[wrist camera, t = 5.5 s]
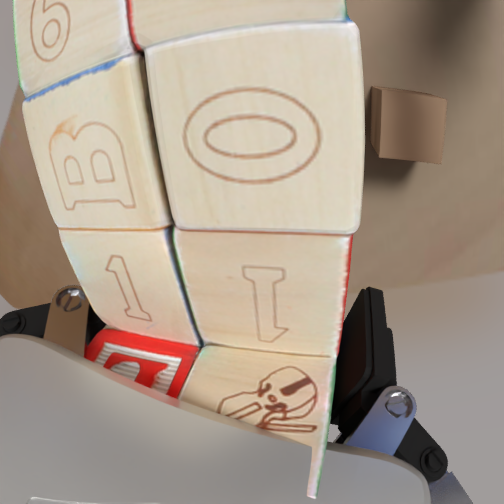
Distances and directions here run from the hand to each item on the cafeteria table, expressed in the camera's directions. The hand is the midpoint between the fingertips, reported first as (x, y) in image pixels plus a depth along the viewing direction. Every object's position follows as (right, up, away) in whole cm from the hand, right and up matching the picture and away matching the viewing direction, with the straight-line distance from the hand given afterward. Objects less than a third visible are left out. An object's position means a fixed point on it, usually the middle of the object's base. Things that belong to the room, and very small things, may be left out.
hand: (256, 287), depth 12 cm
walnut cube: (+12, +13, +11) cm, 21 cm away
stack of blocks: (+1, +3, +4) cm, 5 cm away
